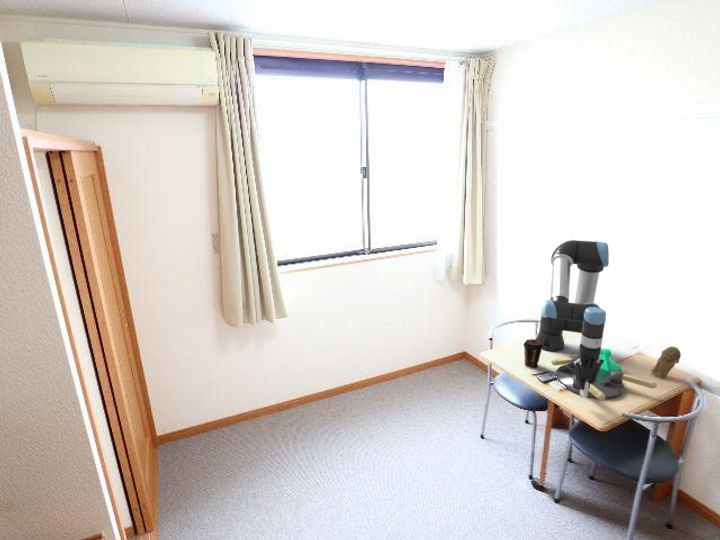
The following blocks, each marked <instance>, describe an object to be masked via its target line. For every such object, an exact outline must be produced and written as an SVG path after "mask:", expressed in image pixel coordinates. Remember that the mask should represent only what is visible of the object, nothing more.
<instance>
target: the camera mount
mask: <svg viewBox="0 0 720 540" xmlns="http://www.w3.org/2000/svg"><path fill="white" fill-rule="evenodd" d="M611 357H612V351H611V349H610V348H601V352H600V356H599V358H601V359H602V360H604V362H603V364H602V365H601V367H600V368H601V369H604V370H606V371H609V372H611V371H612V370H618V371H621V372H623V367H622V366H620V365H619V364H618V363H617V362H615V361H614V360H613V359H612V358H611Z"/></svg>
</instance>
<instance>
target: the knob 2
mask: <svg viewBox="0 0 720 540" xmlns="http://www.w3.org/2000/svg"><path fill="white" fill-rule="evenodd" d="M623 381H624V382H625V381H626V382H629V383H632V384H635V385H639V386H642V387H646V388H649V389H652V390H653V389H656V388H657V383H656V382H655V381H652V380H647V379H644V378H641V377H637V376H633V375H630V374H626V373H624V372H623V371H622V372H621V371H618V370H612V371H611V374H610V382H611V383H613V384H618V385H620V384H622V382H623Z"/></svg>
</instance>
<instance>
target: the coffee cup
mask: <svg viewBox="0 0 720 540" xmlns="http://www.w3.org/2000/svg"><path fill="white" fill-rule="evenodd" d="M523 347H524V348H523V349H524V366H525V367H526V368H529V369H537V368H538V367H539V364H538V363H539V361H540V357H541V354H542V350H543V349H542V345H541V342H539V341H538V340H535V339H526V340H525V342H524V343H523Z"/></svg>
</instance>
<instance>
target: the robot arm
mask: <svg viewBox="0 0 720 540" xmlns="http://www.w3.org/2000/svg"><path fill="white" fill-rule="evenodd" d="M609 252H610V251H609V244H608V243H606V242H605V241H598V240H597V241H592V240H591V241H590V240H577V239H571V240H566V241H564V242H563V243H561V244H559V245H558V246H557V247H556V248H555V249H554V251H553V252H552V255H551V259H550V264H551V267H552V272H551V283H550V296H549V297H550V298H549V299H548V300H546V301H545V302H544V303H545V304H544V307H542V308H541V312H540V313H541V314H540V324H539V331H538V333H537V334H536V335H537V336H536V338H535V339H534V340H538V341H539V342H541V345H542V349H541V350H544V351H546V352H561V351H563V350H564V349H565V346H566V345H565V340H564V335H563V332H570V333H578V334H581V336H580V341H579V342H580V344H579V350H578V351H579V356H578V360H576V361H575V360H573V364H574V367H575V376H576V380H577V381H579V382H580V386H579V388H580V395H579V396H580V397H583V398H588V397H587V394H588V389H589V388H590V384H592V383H593V382H592V381H595V380H596V377H597V375H598V372H599V370H600V367H601V365H602V364H603V362H604V360H602V359H601V358H599V356H600V352H601V349H602V343H603V337H604V331H605V325H606V320H607V317H606V316H607V313H606V310H605V309H603V308H601V307H600V305H598V304H597V303H595V296H596V291H597V286H598V280H599V275H600V273H601V272H603V271H604V270H605V269H604V268H607V267H609V261H610V259H609V258H610V255H609V254H610V253H609ZM573 265H577V266H576V268H577V269H578V270H579V272H578V273H579V274H578V278H577V279H578V280H577V285H576V291H575V298H574V302H570V286H571V285H570V281H571V267H572V266H573ZM580 365H581V366H580Z"/></svg>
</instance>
